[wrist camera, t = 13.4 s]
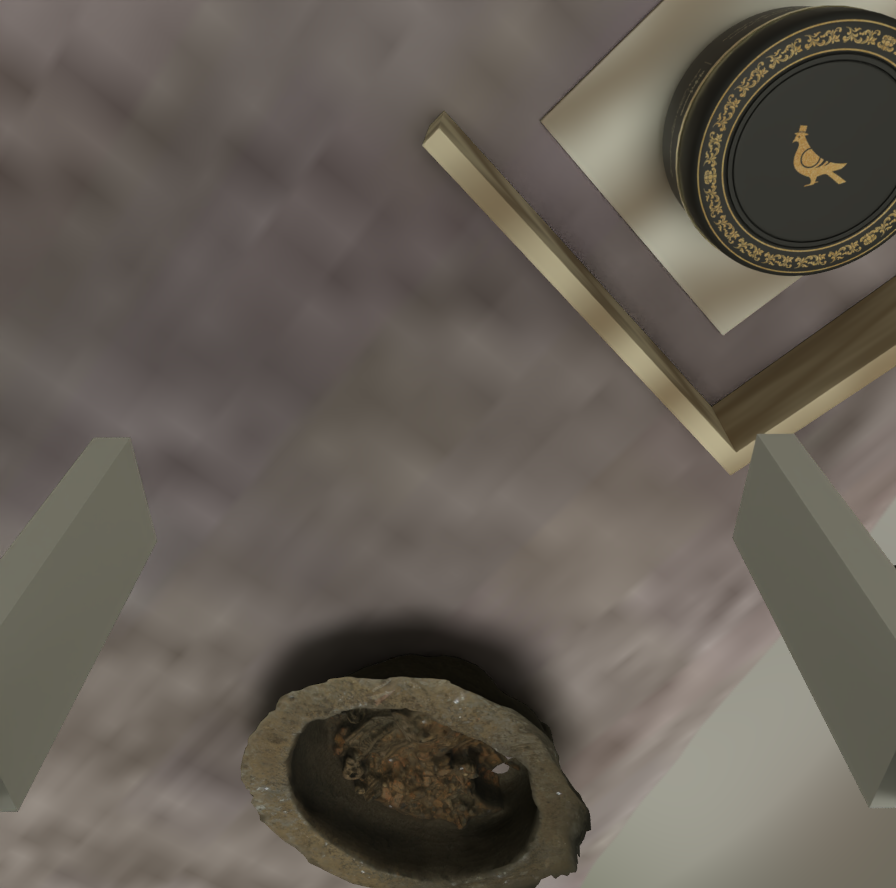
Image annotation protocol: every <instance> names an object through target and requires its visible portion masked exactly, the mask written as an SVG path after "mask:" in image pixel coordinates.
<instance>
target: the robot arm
mask: <svg viewBox="0 0 896 888" xmlns="http://www.w3.org/2000/svg"><path fill="white" fill-rule="evenodd" d="M733 540H734V542H735V544H736V546H737V548H738V550H739V552H740V554H741V556H742V558H743V560H744V562H745V564H746V566H747V568H748V570H749V572H750V574H751V576H752V578H753V580H754V582H755V584H756V586H757V588H758V590H759V592H760V593H761V595H762V597H763V599H764V601H765V603H766V605H767V607H768V609H769V611H770V613H771V615H772V617H773V619H774V621H775V623H776V625H777V627H778V629H779V631H780V633H781V635H782V637H783V639H784V641H785V643H786V645H787V647H788V649H789V651H790V653H791V655H792V657H793V659H794V660H795V663H796V665H797V666H798V669H799V670H800V672H801V674H802V676H803V678H804V680H805V682H806V684H807V686H808V688H809V690H810V692H811V694H812V696H813V698H814V700H815V702H816V704H817V706H818V708H819V710H820V712H821V714H822V716H823V718H824V720H825V722H826V724H827V726H828V728H829V729H830V732H831V734H832V736H833V738H834V739H835V742H836V744H837V745H838V747H839V749H840V751H841V753H842V755H843V757H844V759H845V761H846V763H847V765H848V767H849V769H850V771H851V773H852V775H853V777H854V779H855V781H856V783H857V785H858V787H859V789H860V791H861V793H862V795H863V797H864V798H865V801H866V803H867V805H868V807H869V808H896V565H895V566H894V565H893V564H892V563H891V562H890V560H889V559H888V558H887V557H886V555H885V554H884V552H883V551H882V550H881V549H880V547H879V546H878V545H877V543H876V542H875V541H874V539H873V538H872V537H871V535H870V534H869V533H868V531H867V530H866V529H865V527H864V526H863V525H862V523H861V522H860V521H859V519H858V518H857V517H856V515H855V514H854V513H853V511H852V510H851V509H850V507H849V506H848V505H847V503H846V502H845V501H844V500H843V498H842V497H841V496H840V494H839V493H838V492H837V490H836V489H835V488H834V486H833V485H832V484H831V482H830V481H829V480H828V478H827V477H826V476H825V474H824V473H823V472H822V470H821V469H820V468H819V466H818V465H817V464H816V462H815V461H814V460H813V459H812V457H811V456H810V455H809V453H808V452H807V451H806V449H805V448H804V447H803V445H802V444H801V443H800V441H799V440H798V439H797V437H796V436H795V435H794V434H757V436H756V440H755V445H754V449H753V453H752V457H751V462H750V466H749V470H748V474H747V478H746V483H745V487H744V491H743V495H742V500H741V504H740V508H739V512H738V516H737V521H736V525H735V529H734V533H733ZM156 542H157V539H156V535H155V531H154V527H153V523H152V520H151V516H150V512H149V508H148V504H147V500H146V496H145V493H144V489H143V485H142V481H141V477H140V473H139V470H138V466H137V462H136V458H135V454H134V450H133V446H132V443H131V439H130V438H93V439H92V441H91V442H90V443H89V445H88V446H87V447H86V448H85V450H84V451H83V452H82V454H81V455H80V456H79V458H78V459H77V460H76V462H75V463H74V464H73V465H72V467H71V468H70V469H69V471H68V472H67V473H66V475H65V476H64V477H63V478H62V480H61V481H60V482H59V484H58V485H57V486H56V488H55V489H54V490H53V492H52V493H51V494H50V495H49V497H48V498H47V499H46V501H45V502H44V503H43V505H42V506H41V507H40V508H39V510H38V511H37V512H36V514H35V515H34V516H33V518H32V519H31V520H30V521H29V523H28V524H27V525H26V527H25V528H24V529H23V531H22V532H21V533H20V535H19V536H18V537H17V538H16V540H15V541H14V542H13V544H12V545H11V546H10V548H9V549H8V550H7V551H6V553H5V554H4V555H3V557H2V558H1V559H0V812H18V810H19V808H20V807H21V805H22V803H23V801H24V799H25V797H26V795H27V793H28V791H29V789H30V787H31V785H32V783H33V781H34V779H35V777H36V775H37V774H38V772H39V770H40V768H41V766H42V764H43V762H44V760H45V758H46V756H47V754H48V752H49V750H50V748H51V746H52V744H53V742H54V740H55V739H56V737H57V735H58V733H59V731H60V729H61V727H62V725H63V723H64V721H65V719H66V717H67V715H68V713H69V711H70V709H71V707H72V706H73V704H74V702H75V700H76V698H77V696H78V694H79V692H80V690H81V688H82V686H83V684H84V682H85V680H86V678H87V676H88V674H89V672H90V671H91V669H92V667H93V665H94V663H95V661H96V659H97V657H98V655H99V653H100V651H101V649H102V647H103V645H104V643H105V641H106V639H107V637H108V636H109V634H110V632H111V630H112V628H113V626H114V624H115V622H116V620H117V618H118V616H119V614H120V612H121V610H122V608H123V606H124V604H125V603H126V601H127V599H128V597H129V595H130V593H131V591H132V589H133V587H134V585H135V583H136V581H137V579H138V577H139V575H140V573H141V571H142V569H143V568H144V566H145V564H146V562H147V560H148V558H149V556H150V554H151V552H152V550H153V548H154V546H155V544H156Z"/></svg>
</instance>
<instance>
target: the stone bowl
mask: <svg viewBox="0 0 896 888" xmlns="http://www.w3.org/2000/svg"><path fill="white" fill-rule="evenodd" d="M505 756H507V757H513V758H511V759H509V760H508V759H507V758H506V757H505ZM504 762H505V764H507V765H509V767H510V768H509V770H508V772H506V773H503V774H497V773H494V772H492V770H493V769H494V768H495V767H496V766H497V765H500V764H502V763H504ZM241 780H242V781H243V783H244V784H245V787H246V789H248V790H251V792H250V794H251V795H252V796H253V799H252V801H251V803H252V804H253V805H254V807H256V808H257V811H258V813H259V815H260V820H261V821H262V822H264V823H265V824H266V825H267V826H268V827H269V828H270V829H271V830H272V831H273V832H274V833H276V834H277V835H278V836H279V837H280V838H281V839H283V840H284V841H285V842H286V843H288V844H290V845H292V846H293V847H295V848H296V849H297V850H298V851H299V852H301V853H302V854H303V855H304V856H305V857H306V859H307V860H308V862H309V863H311V864H313V865H315V866H317V867H319V868H321V869H323V870H325V871H327V872H329V873H331V874H333V875H335V876H338V877H340V878H341V879H344V880H346V881H348V882H350V883H353V884H357V885H361V886H365V887H372V888H535V887H536V886H537V885H538V884H539V882H540V880H541V879H543V878H546V877H548V876H550V875H552V876H553V877H554V878H555V879H556V878H557V877H558V876H560V875H566V876H568V875H569V873H572V872H576V871H577V864H578V859H577V854H578V856H579V857H580V845H581V843H582V841H583V840H584V837H585V834H586V831H589V830H591V823H590V813H589V810H588V808H587V807H586V805H585V804H584V802H583V800H582V798H581V796H580V794H579V793H578V792H577V791H576V790H575V789H574V788H573V786H572V785H571V783H570V782H569V780H568V779H567V777H566V776H565V774H564V773H563V772H562V770H561V768H560V765H559V756H558V754H557V752H556V750H555V747H554V744H553V739H552V734H551V731H550V728H549V727H548V726H547V725H546V724H545V723H543V722H540V721H539V720H538V718H537V716H536V715H535V713H534V712H533V711H532V710H531V709H529V708H528V707H527V706H526V705H525V704H523V703H521V702H519V701H517V700H516V699H514V698H512V697H510V696H508V695H506V694H504V693H503V692H502V691H501V690H499V689H498V688H497V687H496V686H495V684H494V682H493V681H492V679H491V678H490V677H489V676H488V675H487V674H486V673H485V672H484V671H483V670H482V669H481V668H479V667H478V666H477V665H474V664H472V663H469V662H467V661H465V660H462V659H460V658H456V657H450V656H436V657H424V656H421V655H415V654H411V655H403V656H399V657H393V658H390V659H388V660H387V661H385V662H381V663H378V664H375V665H371V666H368V667H365V668H363V669H361V670H359V671H357V672H355V673H353V674H350V675H348V676H346V677H342V678H333V679H328V681H327V682H326V683H321V684H316V685H311V686H308V687H306V688H304V689H302V690H299V691H291V693H288V694H285V695H283V696H282V697H281V698H280V699H279V700H278V703H277V704H276V710H274V711H271V712H269V713H268V715H267V717H266V718H264V719H263V720H262V721H261V722H260V724H259V726H258V727H257V730H256V731H254V732H253V734H251V735H250V736H249V739H248V745H247V747H246V748H245V752H244V755H243V759H242V764H241Z"/></svg>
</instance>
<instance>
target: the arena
mask: <svg viewBox="0 0 896 888" xmlns="http://www.w3.org/2000/svg"><path fill="white" fill-rule="evenodd" d="M822 5H843V6H850V7H856V8H862V9H865V10H869V11H874V12H877V13H881V14H884V15H887V16H889V17H892V18H894V19H896V0H662V1H661V2H660V3H659V4H658V5H657V6H656V7H655V8H654V9H653V10H652V11H651V12H650V13H649V14H648V15H647V16H646V17H645V18H644V19H643V20H642V21H641V22H640V23H639V24H638V25H637V26H636V27H635V28H634V29H633V30H632V31H631V32H630V33H629V34H628V35H627V36H626V37H624V38H623V39H622V40H621V41H620V42H619V43H618V44H617V45H616V46H615V47H614V48H613V49H612V50H611V51H610V52H609V53H608V54H607V55H606V56H605V57H604V58H603V59H602V60H601V61H600V62H599V63H598V64H597V65H596V66H595V67H594V68H593V69H592V70H591V71H590V72H589V73H588V74H587V75H586V76H585V77H584V78H583V79H582V80H581V81H580V82H579V83H578V84H577V85H576V86H575V87H574V88H573V89H572V90H571V91H570V92H569V93H568V94H567V95H565V96H564V97H563V98H562V99H561V100H560V101H559V102H558V103H557V104H556V105H555V106H554V107H553V108H552V109H551V110H550V111H549V112H548V113H547V114H546V115H545V116H544V117H543V118H542V119H541V120H540V121H541V123H542V124H543V125H544V126H545V127H546V128H547V130H548V131H549V132H550V133H551V134H552V135H553V137H554V138H555V139H556V140H557V141H558V143H559V144H560V145H561V146H562V147H563V148H564V150H565V151H566V152H567V153H568V154H569V155H570V157H571V158H572V159H573V160H574V161H575V162H576V164H577V165H578V166H579V167H580V168H581V170H582V171H583V172H584V173H585V174H586V175H587V177H588V178H589V179H590V180H591V181H592V182H593V184H594V185H595V186H596V187H597V188H598V189H599V191H600V192H601V193H602V194H603V195H604V197H605V198H606V199H607V200H608V201H609V202H610V204H611V205H612V206H613V207H614V208H615V209H616V211H617V212H618V213H619V214H620V215H621V216H622V218H623V219H624V220H625V221H626V222H627V224H628V225H629V226H630V227H631V228H632V229H633V231H634V232H635V233H636V234H637V235H638V236H639V238H640V239H641V240H642V241H643V242H644V243H645V245H646V246H647V247H648V248H649V249H650V250H651V252H652V253H653V254H654V255H655V256H656V258H657V259H658V260H659V261H660V262H661V263H662V265H663V266H664V267H665V268H666V269H667V270H668V272H669V273H670V274H671V275H672V276H673V277H674V279H675V280H676V281H677V282H678V283H679V285H680V286H681V287H682V288H683V289H684V290H685V292H686V293H687V294H688V295H689V296H690V297H691V299H692V300H693V301H694V302H695V303H696V304H697V306H698V307H699V308H700V309H701V310H702V312H703V313H704V314H705V315H706V316H707V317H708V319H709V320H710V321H711V322H712V323H713V324H714V326H715V327H716V328H717V329H718V330H719V331H720V333H721V334H722V335H724V334H726V333H727V332H728V331H730V330H731V329H732V328H734V327H735V326H736V325H738V324H739V323H740V322H742V321H743V320H744V319H746V318H747V317H748V316H750V315H751V314H752V313H754V312H755V311H756V310H758V309H759V308H760V307H762V306H763V305H764V304H766V303H767V302H768V301H770V300H771V299H772V298H774V297H775V296H776V295H778V294H779V293H780V292H782V291H783V290H784V289H786V288H787V287H788V286H790V285H791V284H792V283H794V282H795V281H796V280H798V279H799V278H800V277H802V276H780V275H772V274H767V273H763V272H759V271H756V270H753V269H750V268H747V267H745V266H743V265H741V264H739V263H737V262H735V261H734V260H732V259H731V258H729V257H728V256H726V255H725V254H724V253H722V252H721V251H719V250H718V249H716V248H715V247H713V246H712V245H711V244H710V243H709V242H708V241H707V240H706V239H705V238H704V237H703V236H702V235H701V234H700V233H699V231H698V230H697V229H696V228H695V226H694V225H693V224H692V222H691V220H690V218H689V217H688V215H687V213H686V211H685V210H684V209H683V208H682V206H681V205H680V204H679V202H678V201H677V199H676V197H675V195H674V194H673V192H672V189H671V187H670V185H669V182H668V179H667V176H666V172H665V168H664V162H663V152H662V139H663V129H664V123H665V118H666V114H667V111H668V107H669V104H670V101H671V99H672V96H673V94H674V92H675V90H676V88H677V86H678V84H679V82H680V80H681V78H682V77H683V75H684V73H685V72H686V71H687V69H688V68H689V66H690V65H691V64H692V62H693V61H694V60H695V59H696V57H697V56H698V55H699V54H700V53H701V52H702V51H703V50H704V49H705V48H706V47H707V46H708V45H709V44H710V43H711V42H712V41H713V40H714V39H716V38H717V37H718V36H719V35H721V34H722V33H723V32H725V31H726V30H728V29H729V28H731V27H732V26H734V25H736V24H737V23H739V22H741V21H743V20H745V19H747V18H749V17H751V16H754V15H756V14H759V13H762V12H765V11H769V10H772V9H777V8H782V7H790V6H814V7H815V6H822ZM422 146H423V147H424V148H425V149H426V150H427V151H428V152H429V153H430V154H431V155H432V156H433V157H434V158H435V160H436V161H437V162H438V163H439V164H440V165H441V166H442V167H443V168H444V169H445V170H446V171H447V172H448V173H449V175H450V176H451V177H452V178H453V179H454V180H455V181H456V182H457V183H458V184H459V185H460V186H461V187H462V188H463V190H464V191H465V192H466V193H467V194H468V195H469V196H470V197H471V198H472V199H473V200H474V201H475V202H476V203H477V204H478V206H479V207H480V208H481V209H482V210H483V211H484V212H485V213H486V214H487V215H488V216H489V217H490V218H491V219H492V221H493V222H494V223H495V224H496V225H497V226H498V227H499V228H500V229H501V230H502V231H503V232H504V233H505V234H506V236H507V237H508V238H509V239H510V240H511V241H512V242H513V243H514V244H515V245H516V246H517V247H518V248H519V249H520V250H521V252H522V253H523V254H524V255H525V256H526V257H527V258H528V259H529V260H530V261H531V262H532V263H533V264H534V265H535V267H536V268H537V269H538V270H539V271H540V272H541V273H542V274H543V275H544V276H545V277H546V278H547V279H548V280H549V282H550V283H551V284H552V285H553V286H554V287H555V288H556V289H557V290H558V291H559V292H560V293H561V294H562V295H563V297H564V298H565V299H566V300H567V301H568V302H569V303H570V304H571V305H572V306H573V307H574V308H575V309H576V310H577V311H578V313H579V314H580V315H581V316H582V317H583V318H584V319H585V320H586V321H587V322H588V323H589V324H590V325H591V326H592V328H593V329H594V330H595V331H596V332H597V333H598V334H599V335H600V336H601V337H602V338H603V339H604V340H605V341H606V343H607V344H608V345H609V346H610V347H611V348H612V349H613V350H614V351H615V352H616V353H617V354H618V355H619V356H620V357H621V359H622V360H623V361H624V362H625V363H626V364H627V365H628V366H629V367H630V368H631V369H632V370H633V371H634V372H635V374H636V375H637V376H638V377H639V378H640V379H641V380H642V381H643V382H644V383H645V384H646V385H647V386H648V387H649V389H650V390H651V391H652V392H653V393H654V394H655V395H656V396H657V397H658V398H659V399H660V400H661V401H662V402H663V404H664V405H665V406H666V407H667V408H668V409H669V410H670V411H671V412H672V413H673V414H674V415H675V416H676V417H677V418H678V420H679V421H680V422H681V423H682V424H683V425H684V426H685V427H686V428H687V429H688V430H689V431H690V432H691V433H692V435H693V436H694V437H695V438H696V439H697V440H698V441H699V442H700V443H701V444H702V445H703V446H704V447H705V448H706V450H707V451H708V452H709V453H710V454H711V455H712V456H713V457H714V458H715V459H716V460H717V461H718V462H719V463H720V464H721V466H722V467H723V468H724V469H725V470H726V471H727V472H728V473H729V474H730V475H732V474H733V473H735V472H736V471H738V470H739V469H741V468H742V467H744V466H745V465H747V464H748V463H750V462H751V457H752V453H753V449H754V445H755V440H756V436H757V434H794V433H795V432H797V431H798V430H800V429H801V428H803V427H804V426H806V425H807V424H809V423H810V422H812V421H813V420H815V419H816V418H818V417H819V416H821V415H822V414H824V413H825V412H827V411H828V410H830V409H831V408H833V407H834V406H836V405H837V404H839V403H840V402H842V401H843V400H845V399H846V398H848V397H849V396H851V395H852V394H854V393H855V392H857V391H858V390H860V389H862V388H863V387H865V386H866V385H868V384H869V383H871V382H872V381H874V380H875V379H877V378H878V377H880V376H881V375H883V374H884V373H886V372H887V371H889V370H890V369H892V368H893V367H895V366H896V276H895V277H894V278H892V279H891V280H889V281H888V282H887V283H885V284H884V285H882V286H881V287H879V288H878V289H877V290H875V291H874V292H872V293H871V294H870V295H868V296H867V297H865V298H864V299H863V300H861V301H860V302H858V303H857V304H856V305H854V306H853V307H851V308H850V309H849V310H847V311H846V312H844V313H843V314H842V315H840V316H839V317H837V318H836V319H835V320H833V321H832V322H830V323H829V324H828V325H826V326H825V327H823V328H822V329H820V330H819V331H818V332H816V333H815V334H813V335H812V336H811V337H809V338H808V339H806V340H805V341H804V342H802V343H801V344H799V345H798V346H797V347H795V348H794V349H792V350H791V351H790V352H788V353H787V354H785V355H784V356H783V357H781V358H780V359H778V360H777V361H776V362H774V363H773V364H771V365H770V366H769V367H767V368H766V369H764V370H763V371H761V372H760V373H759V374H757V375H756V376H754V377H753V378H752V379H750V380H749V381H747V382H746V383H745V384H743V385H742V386H740V387H739V388H738V389H736V390H735V391H733V392H732V393H731V394H729V395H728V396H726V397H725V398H724V399H722V400H721V401H719V402H718V403H717V404H715V405H714V406H712V407H711V406H710V405H709V404H708V402H707V401H706V400H705V399H704V398H703V397H702V396H701V395H700V394H699V392H698V391H697V390H696V389H695V388H694V387H693V386H692V385H691V384H690V382H689V381H688V380H687V379H686V378H685V377H684V376H683V375H682V374H681V373H680V371H679V370H678V369H677V368H676V367H675V366H674V365H673V364H672V363H671V361H670V360H669V359H668V358H667V357H666V356H665V355H664V354H663V353H662V351H661V350H660V349H659V348H658V347H657V346H656V345H655V344H654V343H653V341H652V340H651V339H650V338H649V337H648V336H647V335H646V334H645V333H644V332H643V330H642V329H641V328H640V327H639V326H638V325H637V324H636V323H635V322H634V320H633V319H632V318H631V317H630V316H629V315H628V314H627V313H626V312H625V310H624V309H623V308H622V307H621V306H620V305H619V304H618V303H617V302H616V301H615V299H614V298H613V297H612V296H611V295H610V294H609V293H608V292H607V291H606V289H605V288H604V287H603V286H602V285H601V284H600V283H599V282H598V281H597V279H596V278H595V277H594V276H593V275H592V274H591V273H590V272H589V271H588V270H587V268H586V267H585V266H584V265H583V264H582V263H581V262H580V261H579V260H578V258H577V257H576V256H575V255H574V254H573V253H572V252H571V251H570V250H569V248H568V247H567V246H566V245H565V244H564V243H563V242H562V241H561V240H560V239H559V237H558V236H557V235H556V234H555V233H554V232H553V231H552V230H551V229H550V227H549V226H548V225H547V224H546V223H545V222H544V221H543V220H542V219H541V217H540V216H539V215H538V214H537V213H536V212H535V211H534V210H533V209H532V207H531V206H530V205H529V204H528V203H527V202H526V201H525V200H524V199H523V198H522V196H521V195H520V194H519V193H518V192H517V191H516V190H515V189H514V188H513V186H512V185H511V184H510V183H509V182H508V181H507V180H506V179H505V178H504V176H503V175H502V174H501V173H500V172H499V171H498V170H497V169H496V168H495V167H494V165H493V164H492V163H491V162H490V161H489V160H488V159H487V158H486V157H485V155H484V154H483V153H482V152H481V151H480V150H479V149H478V148H477V147H476V145H475V144H474V143H473V142H472V141H471V140H470V139H469V138H468V137H467V136H466V134H465V133H464V132H463V131H462V130H461V129H460V128H459V127H458V126H457V124H456V123H455V122H454V121H453V120H452V119H451V118H450V117H449V116H448V114H447V113H446V112H445V111H443V112H442V114H441V115H440V116H439V117H438V118H437V119H436V120H435V121H434V122H433V123H432V124H431V125H430V126H429V129H428V131H427V134H426V137H425V139H424V142H423V145H422Z"/></svg>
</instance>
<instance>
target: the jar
mask: <svg viewBox="0 0 896 888" xmlns="http://www.w3.org/2000/svg"><path fill="white" fill-rule="evenodd" d="M662 152H663V162H664V168H665V172H666V176H667V179H668V182H669V185H670V187H671V189H672V192H673V194H674V195H675V197H676V199H677V201H678V202H679V204H680V205H681V206H682V208H683V209H684V210H685V211H686V213H687V215H688V217H689V218H690V220H691V222H692V224H693V225H694V226H695V228H696V229H697V230H698V231H699V233H700V234H701V235H702V236H703V237H704V238H705V239H706V240H707V241H708V242H709V243H710V244H711V245H712V246H713V247H715V248H716V249H718V250H719V251H721V252H722V253H724V254H725V255H726V256H728V257H729V258H731V259H732V260H734V261H735V262H737V263H739V264H741V265H743V266H745V267H747V268H750V269H753V270H756V271H759V272H763V273H767V274H772V275H780V276H804V275H812V274H817V273H822V272H826V271H830V270H833V269H836V268H839V267H842V266H844V265H847V264H849V263H851V262H853V261H856V260H857V259H859V258H861V257H863V256H865V255H867V254H868V253H870V252H872V251H873V250H875V249H876V248H878V247H879V246H881V245H882V244H883V243H885V242H886V241H887V240H889V239H890V238H891V237H892V236H893V235H895V234H896V19H894V18H892V17H889V16H887V15H884V14H881V13H877V12H874V11H869V10H865V9H862V8H856V7H850V6H843V5H822V6H815V7H814V6H790V7H782V8H777V9H772V10H769V11H765V12H762V13H759V14H756V15H754V16H751V17H749V18H747V19H745V20H743V21H741V22H739V23H737V24H736V25H734V26H732V27H731V28H729V29H728V30H726V31H725V32H723V33H722V34H721V35H719V36H718V37H717V38H716V39H714V40H713V41H712V42H711V43H710V44H709V45H708V46H707V47H706V48H705V49H704V50H703V51H702V52H701V53H700V54H699V55H698V56H697V57H696V59H695V60H694V61H693V62H692V64H691V65H690V66H689V68H688V69H687V71H686V72H685V73H684V75H683V77H682V78H681V80H680V82H679V84H678V86H677V88H676V90H675V92H674V94H673V96H672V99H671V101H670V104H669V107H668V111H667V114H666V118H665V123H664V129H663V139H662Z"/></svg>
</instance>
